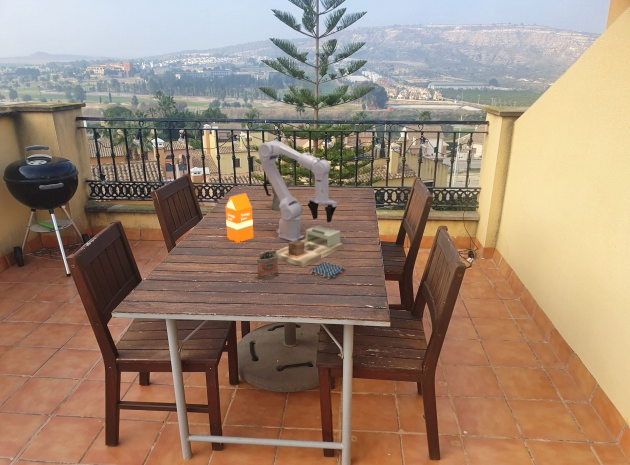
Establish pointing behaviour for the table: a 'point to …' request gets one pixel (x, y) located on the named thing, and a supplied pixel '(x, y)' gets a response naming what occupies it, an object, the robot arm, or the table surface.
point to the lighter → (267, 264)
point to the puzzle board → (309, 252)
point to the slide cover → (323, 234)
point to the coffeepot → (275, 199)
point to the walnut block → (296, 247)
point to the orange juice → (239, 218)
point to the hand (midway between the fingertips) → (322, 220)
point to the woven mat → (328, 270)
